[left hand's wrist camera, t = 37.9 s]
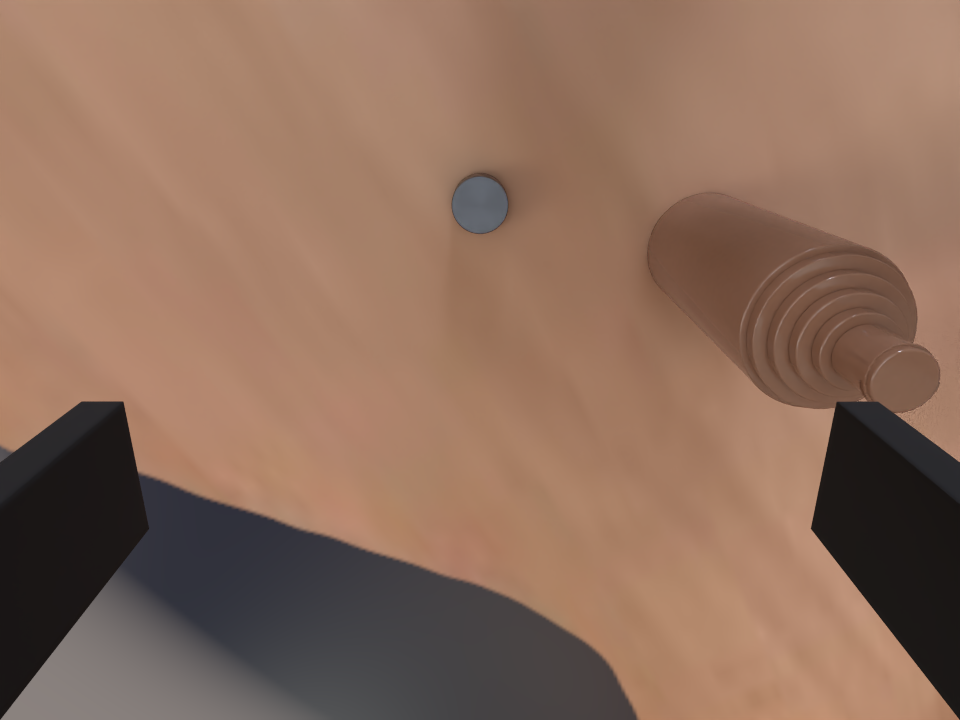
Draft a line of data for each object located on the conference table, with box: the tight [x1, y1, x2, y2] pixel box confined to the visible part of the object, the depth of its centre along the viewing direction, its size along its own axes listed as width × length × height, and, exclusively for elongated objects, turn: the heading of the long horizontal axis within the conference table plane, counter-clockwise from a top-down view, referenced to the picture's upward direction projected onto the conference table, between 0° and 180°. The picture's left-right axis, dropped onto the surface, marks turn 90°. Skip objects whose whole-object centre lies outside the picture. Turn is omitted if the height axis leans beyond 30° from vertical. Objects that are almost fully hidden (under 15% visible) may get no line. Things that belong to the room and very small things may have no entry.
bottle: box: [648, 193, 940, 413], centre depth 38 cm, size 8×8×25 cm
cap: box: [452, 173, 508, 234], centre depth 47 cm, size 4×4×2 cm
